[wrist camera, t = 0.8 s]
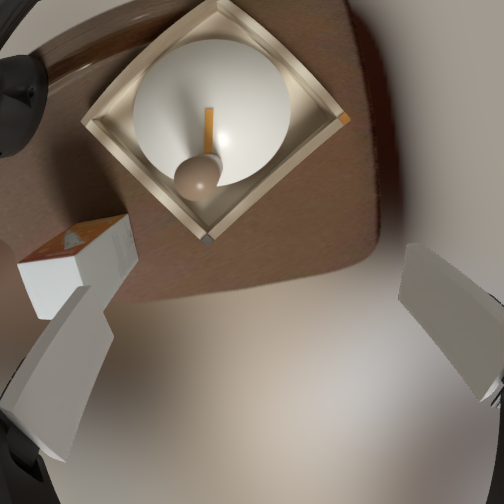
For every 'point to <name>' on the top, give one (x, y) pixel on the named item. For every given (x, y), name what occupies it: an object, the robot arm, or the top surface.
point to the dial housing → (256, 185)
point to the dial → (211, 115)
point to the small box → (80, 263)
